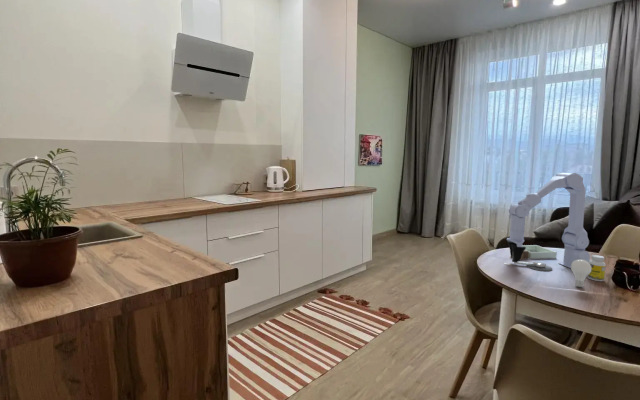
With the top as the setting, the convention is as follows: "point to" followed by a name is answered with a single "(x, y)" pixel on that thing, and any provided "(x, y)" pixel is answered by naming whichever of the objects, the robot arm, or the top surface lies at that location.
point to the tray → (539, 252)
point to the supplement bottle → (597, 268)
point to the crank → (536, 264)
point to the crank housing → (537, 267)
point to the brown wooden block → (524, 254)
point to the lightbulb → (580, 271)
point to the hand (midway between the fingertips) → (515, 258)
